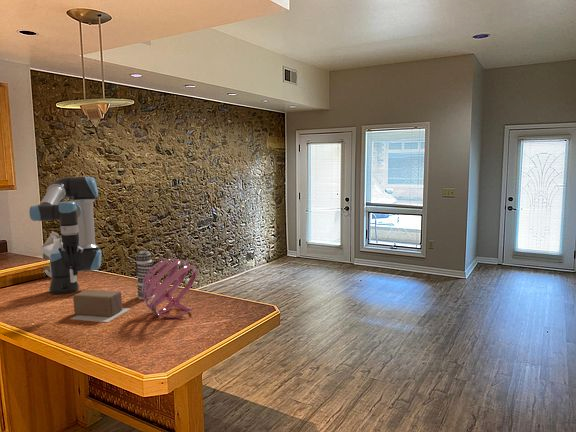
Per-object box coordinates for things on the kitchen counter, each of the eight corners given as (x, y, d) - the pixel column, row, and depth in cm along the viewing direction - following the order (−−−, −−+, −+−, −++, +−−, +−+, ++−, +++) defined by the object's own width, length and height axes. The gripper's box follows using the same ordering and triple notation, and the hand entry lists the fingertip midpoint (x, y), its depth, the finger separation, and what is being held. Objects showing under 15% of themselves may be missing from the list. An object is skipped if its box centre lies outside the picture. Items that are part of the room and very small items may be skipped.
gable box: (43, 272, 293) (39, 231, 289) (64, 269, 302) (61, 229, 298) (52, 279, 277) (48, 235, 273) (75, 275, 285) (71, 232, 282)
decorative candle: (148, 300, 231) (145, 253, 228) (133, 298, 234) (130, 253, 231) (158, 295, 240) (156, 250, 236) (144, 293, 243) (141, 249, 239)
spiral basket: (221, 272, 209) (179, 238, 215) (181, 302, 186) (135, 264, 193) (205, 308, 225) (166, 276, 231) (166, 340, 202) (124, 303, 208)
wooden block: (73, 315, 210) (111, 317, 206) (72, 295, 208) (109, 297, 204) (87, 308, 219) (123, 310, 215) (85, 288, 218) (121, 290, 214)
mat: (95, 306, 223) (95, 306, 223) (130, 309, 218) (130, 308, 218) (70, 319, 205) (70, 318, 205) (107, 322, 200) (107, 321, 200)
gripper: (52, 234, 208) (56, 283, 211) (75, 235, 205) (80, 284, 208) (64, 232, 215) (68, 279, 218) (86, 232, 212) (90, 280, 215)
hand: (73, 281), depth 213 cm, fingers closed
